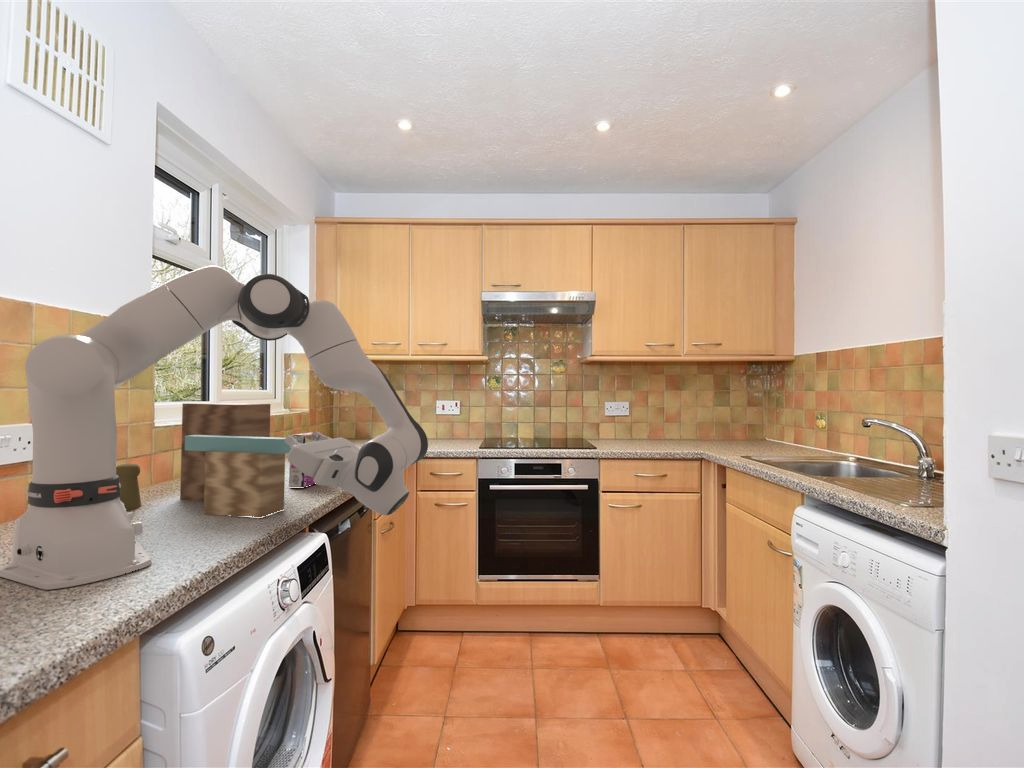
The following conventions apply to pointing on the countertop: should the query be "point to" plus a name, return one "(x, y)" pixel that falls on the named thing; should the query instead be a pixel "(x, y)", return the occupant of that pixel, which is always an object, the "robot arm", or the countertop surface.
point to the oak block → (243, 483)
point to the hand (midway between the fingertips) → (301, 436)
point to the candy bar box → (296, 475)
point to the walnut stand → (216, 422)
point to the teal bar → (237, 444)
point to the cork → (129, 485)
